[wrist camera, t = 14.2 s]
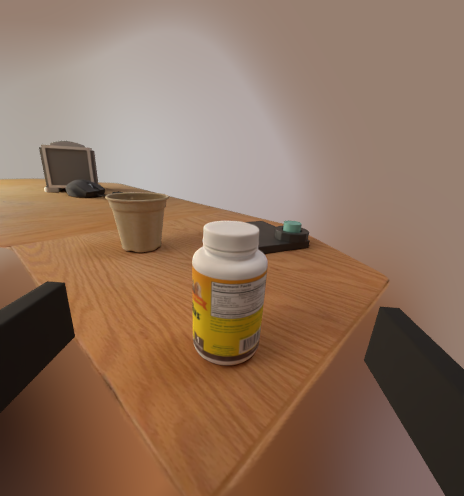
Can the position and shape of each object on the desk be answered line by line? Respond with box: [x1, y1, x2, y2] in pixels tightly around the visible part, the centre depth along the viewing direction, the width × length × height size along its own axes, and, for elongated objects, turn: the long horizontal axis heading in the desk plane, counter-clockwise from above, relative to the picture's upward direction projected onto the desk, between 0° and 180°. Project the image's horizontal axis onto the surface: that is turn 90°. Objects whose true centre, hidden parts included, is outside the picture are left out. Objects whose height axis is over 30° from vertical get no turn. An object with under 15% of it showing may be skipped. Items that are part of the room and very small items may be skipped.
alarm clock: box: [39, 141, 101, 192], centre depth 98 cm, size 18×13×18 cm
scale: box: [245, 221, 310, 254], centre depth 49 cm, size 16×14×3 cm
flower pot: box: [105, 192, 169, 252], centre depth 40 cm, size 9×9×9 cm
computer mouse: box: [66, 179, 123, 197], centre depth 85 cm, size 9×32×6 cm, turn 65°
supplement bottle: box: [192, 221, 267, 365], centre depth 19 cm, size 6×6×10 cm
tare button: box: [283, 221, 301, 233], centre depth 46 cm, size 3×3×2 cm
